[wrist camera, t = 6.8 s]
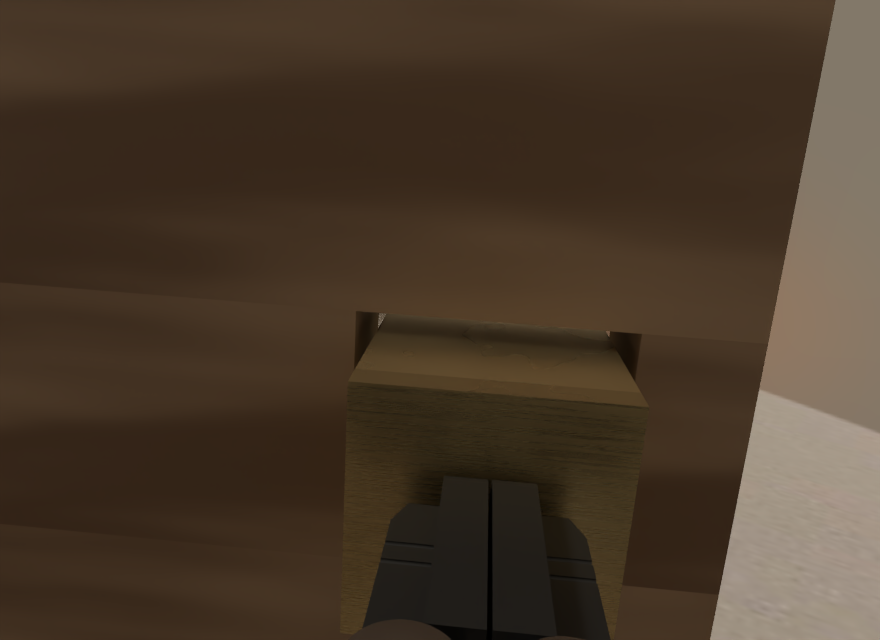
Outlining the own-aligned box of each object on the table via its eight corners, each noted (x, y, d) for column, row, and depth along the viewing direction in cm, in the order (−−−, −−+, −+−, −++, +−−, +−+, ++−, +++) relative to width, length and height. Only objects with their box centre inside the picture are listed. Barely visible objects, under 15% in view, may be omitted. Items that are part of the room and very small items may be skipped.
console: (665, 864, 16) (854, -100, 11) (-378, 739, 18) (-656, -171, 12) (611, 638, 23) (710, -7, 18) (-125, 562, 25) (-231, -58, 20)
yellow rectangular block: (610, 661, 12) (649, 407, 10) (340, 632, 12) (347, 380, 11) (564, 458, 19) (584, 294, 18) (397, 443, 19) (406, 280, 18)
